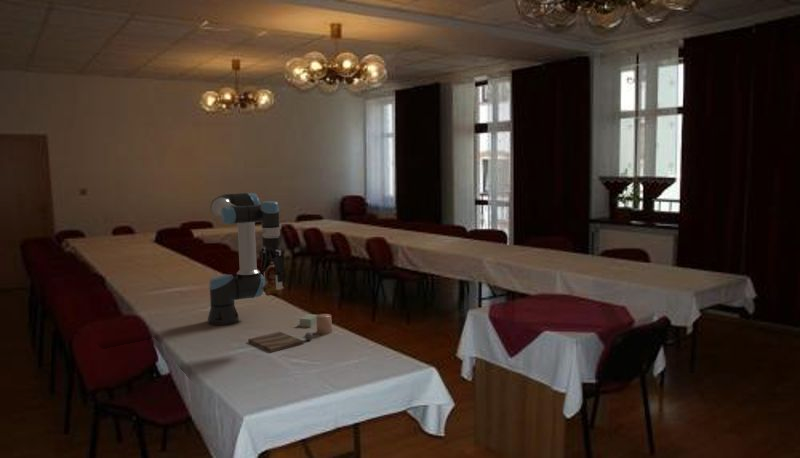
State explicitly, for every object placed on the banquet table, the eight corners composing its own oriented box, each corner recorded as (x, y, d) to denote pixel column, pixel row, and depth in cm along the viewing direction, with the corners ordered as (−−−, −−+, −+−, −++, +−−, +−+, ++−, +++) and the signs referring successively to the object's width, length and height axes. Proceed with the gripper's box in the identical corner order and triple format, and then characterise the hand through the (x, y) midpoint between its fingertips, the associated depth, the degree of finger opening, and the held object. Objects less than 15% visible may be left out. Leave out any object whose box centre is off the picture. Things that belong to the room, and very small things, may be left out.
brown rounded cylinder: (314, 332, 277) (313, 315, 276) (326, 329, 281) (325, 313, 280) (322, 335, 271) (322, 318, 271) (334, 332, 276) (334, 315, 275)
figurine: (262, 296, 252) (260, 261, 254) (261, 296, 260) (260, 263, 261) (285, 294, 255) (283, 260, 257) (284, 294, 262) (282, 261, 264)
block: (299, 326, 288) (299, 318, 287) (308, 321, 296) (307, 314, 296) (310, 327, 286) (310, 319, 285) (318, 322, 294) (318, 314, 294)
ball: (303, 340, 265) (303, 332, 264) (310, 338, 267) (309, 330, 267) (307, 341, 262) (307, 334, 262) (314, 340, 265) (314, 332, 264)
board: (248, 342, 263) (248, 339, 263) (279, 334, 274) (279, 331, 274) (271, 352, 248) (271, 348, 248) (303, 343, 259) (303, 340, 259)
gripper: (251, 235, 261) (253, 285, 264) (276, 240, 245) (278, 292, 248) (266, 234, 266) (268, 282, 269) (292, 238, 250) (294, 289, 253)
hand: (273, 287), depth 258 cm, fingers closed on figurine, 9 cm apart
